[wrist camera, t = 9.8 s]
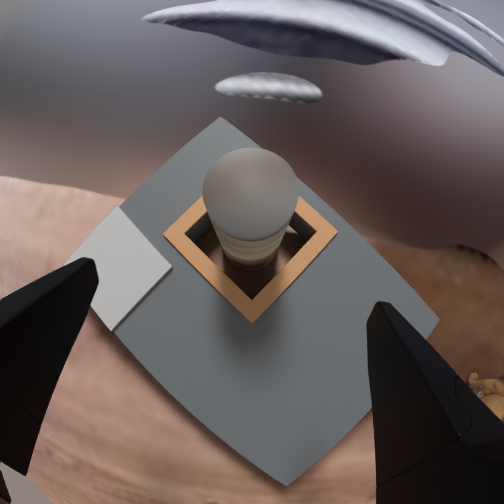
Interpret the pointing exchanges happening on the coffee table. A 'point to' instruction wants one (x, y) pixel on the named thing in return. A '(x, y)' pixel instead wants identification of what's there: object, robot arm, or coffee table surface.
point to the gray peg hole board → (246, 314)
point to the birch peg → (250, 204)
